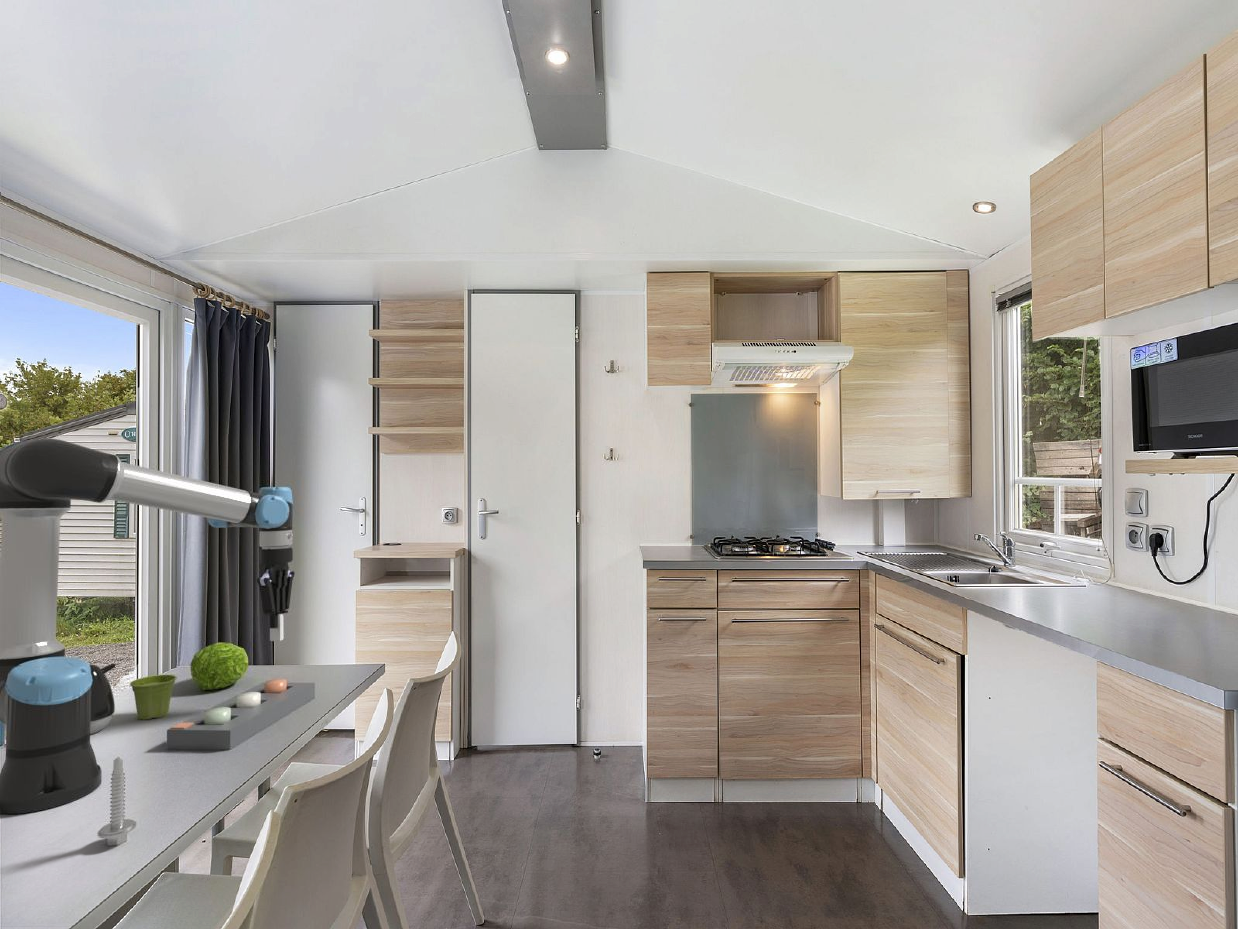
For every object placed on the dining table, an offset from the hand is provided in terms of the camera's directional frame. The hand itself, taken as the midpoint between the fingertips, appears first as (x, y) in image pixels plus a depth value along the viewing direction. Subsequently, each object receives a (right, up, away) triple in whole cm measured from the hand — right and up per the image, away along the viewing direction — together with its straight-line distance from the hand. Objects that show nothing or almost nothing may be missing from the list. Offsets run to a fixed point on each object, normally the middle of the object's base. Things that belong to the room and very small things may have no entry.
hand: (276, 640), depth 168 cm
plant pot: (-26, -17, -7) cm, 32 cm away
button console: (-1, -16, -12) cm, 20 cm away
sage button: (-1, -13, -23) cm, 26 cm away
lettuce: (-26, -18, +20) cm, 37 cm away
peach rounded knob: (0, -14, -1) cm, 14 cm away
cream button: (-1, -14, -12) cm, 18 cm away
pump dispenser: (-34, -16, -18) cm, 42 cm away
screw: (+9, -14, -65) cm, 68 cm away
